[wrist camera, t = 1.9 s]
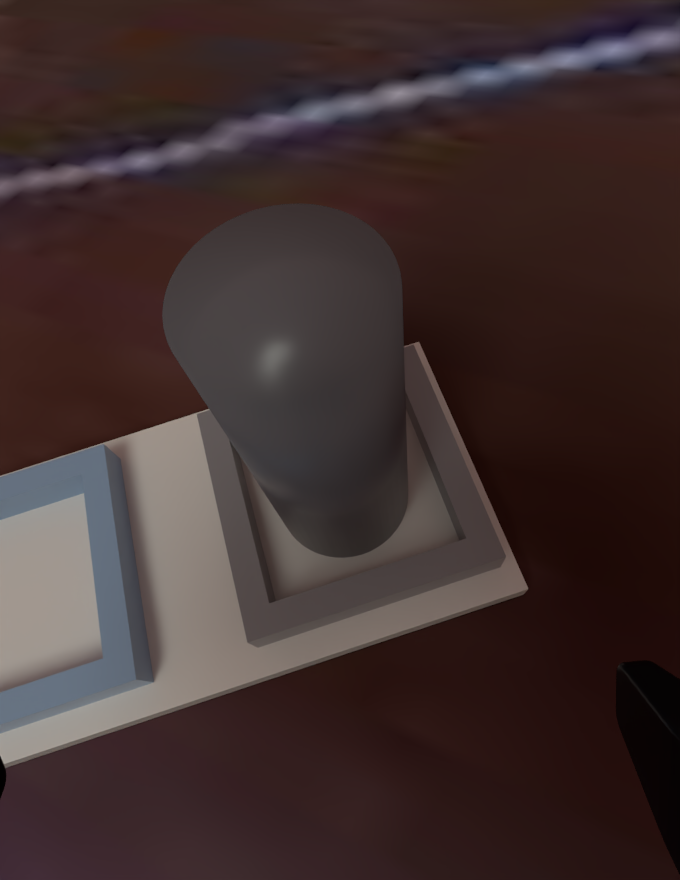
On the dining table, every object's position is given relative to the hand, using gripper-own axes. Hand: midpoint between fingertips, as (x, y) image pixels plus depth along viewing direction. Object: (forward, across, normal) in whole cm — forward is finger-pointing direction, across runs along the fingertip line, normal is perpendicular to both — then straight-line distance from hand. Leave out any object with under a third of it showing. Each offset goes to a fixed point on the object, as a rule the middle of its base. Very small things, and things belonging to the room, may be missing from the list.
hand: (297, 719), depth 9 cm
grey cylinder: (+14, 0, +3) cm, 15 cm away
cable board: (+14, +6, +5) cm, 16 cm away
